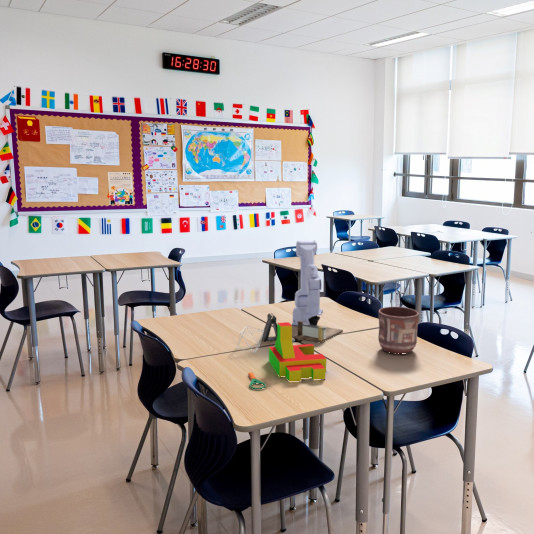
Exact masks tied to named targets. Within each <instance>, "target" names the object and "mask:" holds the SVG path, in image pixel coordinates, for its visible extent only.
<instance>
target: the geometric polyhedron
mask: <svg viewBox="0 0 534 534" xmlns="http://www.w3.org/2000/svg"><path fill="white" fill-rule="evenodd" d="M246 328H247V330H248V331H245V330H246ZM249 328H250V329H255V330H253V331H252V330H250V329H249ZM259 331H261V332H262V334H261V336H260V338H259V340H258V341H257V339H256V337H255V336H254V334H253V333H254V332H255V333H256V332H257V333H258V332H259ZM248 332H249V333H250V334H251V336H253V339H255V341H256V343H257V344H256V345H255V350H254V349H253V348H252V345H250V343H249V342H248V341H247V339H246V338H245V337H244V334H245V333H248ZM263 333H264V329H260V328H256V327H252V326H248V325H246V326H244V328H243V329H242V330H241V331H240V333H239V337H238V341H237V346H236V348H237V349H238V350H239V349H240V350H243V351H245V352H246V351H247V352H250V353H252V352H253V354H255V353H256V352H257V350H258V349H259V348H260V347H261V343H262V341H263V339H262V338H261V337H262V336H263ZM242 338H243V339H244V340H245V342H246V343H247V345H248V346H245V348H250V350H252V351H250V350H247V349H243V348H242V346H239V345H240V343H241V340H242Z"/></svg>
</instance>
